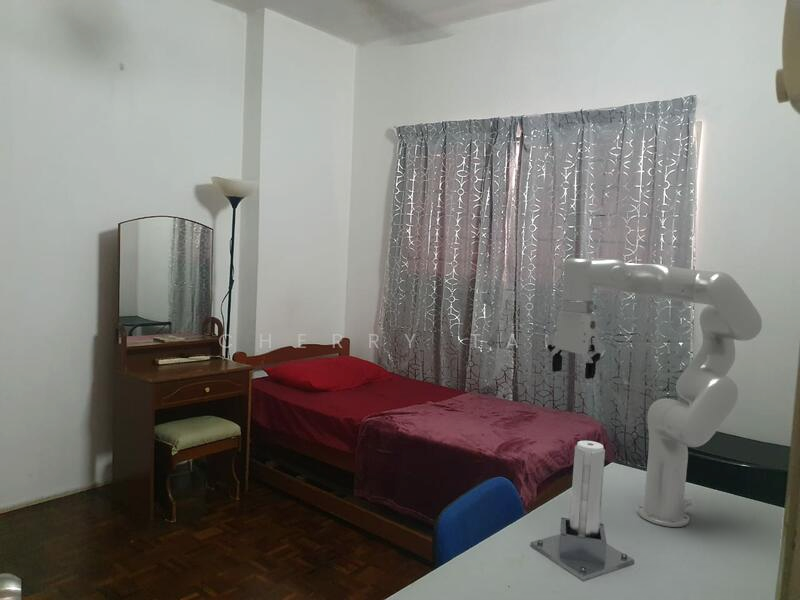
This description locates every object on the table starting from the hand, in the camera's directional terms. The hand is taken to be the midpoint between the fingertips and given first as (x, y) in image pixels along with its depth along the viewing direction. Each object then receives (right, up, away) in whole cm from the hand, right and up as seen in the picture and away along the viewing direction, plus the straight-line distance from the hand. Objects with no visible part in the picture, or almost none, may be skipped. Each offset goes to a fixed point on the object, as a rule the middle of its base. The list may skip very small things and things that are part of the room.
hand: (572, 374), depth 148 cm
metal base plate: (-2, -39, -15) cm, 42 cm away
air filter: (-2, -39, -15) cm, 41 cm away
